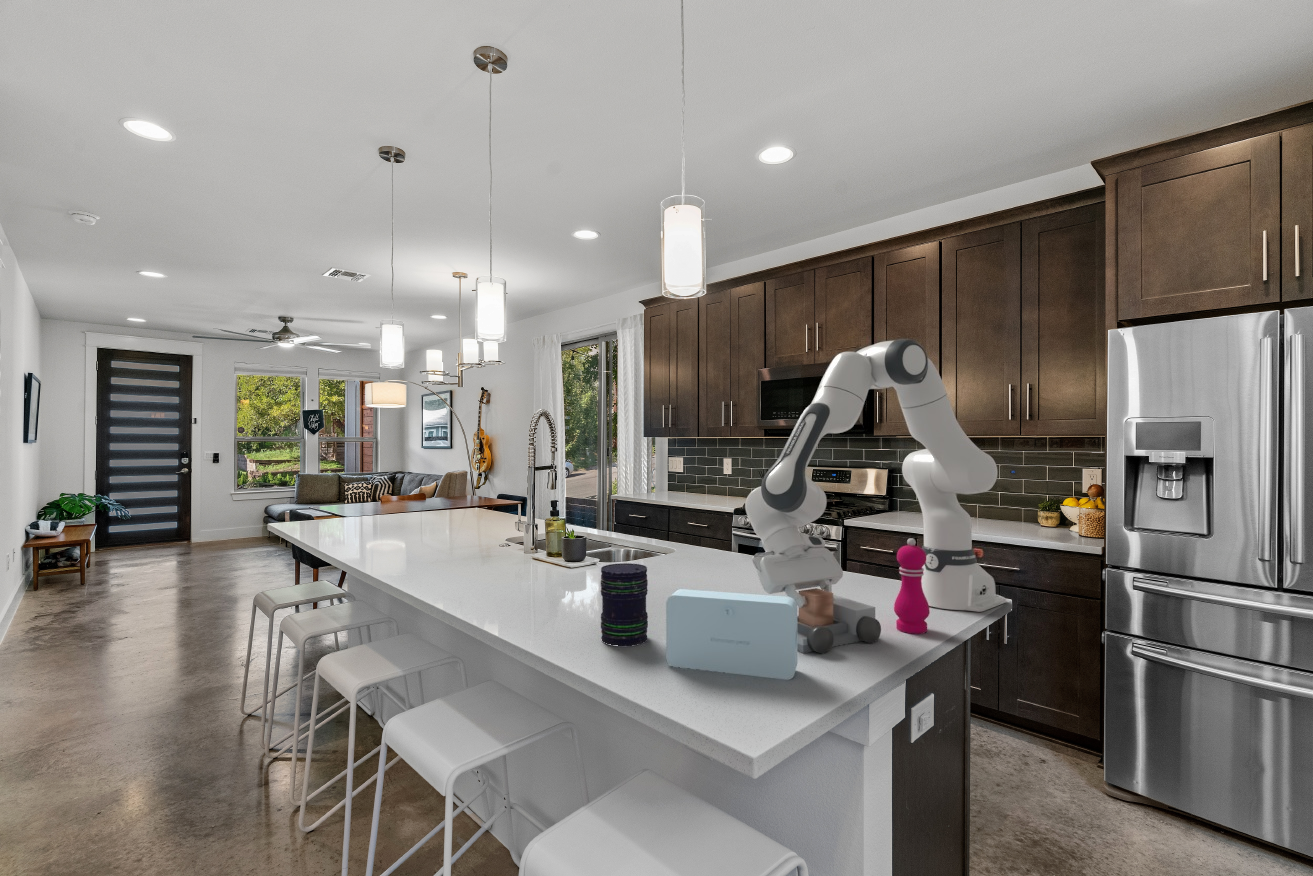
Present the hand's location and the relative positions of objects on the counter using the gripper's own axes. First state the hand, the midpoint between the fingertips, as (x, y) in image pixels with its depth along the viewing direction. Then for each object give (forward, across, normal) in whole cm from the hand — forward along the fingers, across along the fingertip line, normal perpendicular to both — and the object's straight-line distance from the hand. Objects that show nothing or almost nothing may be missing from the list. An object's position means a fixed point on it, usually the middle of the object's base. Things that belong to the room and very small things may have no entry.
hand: (817, 603), depth 133 cm
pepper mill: (+9, +22, +1) cm, 24 cm away
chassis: (+5, +1, +6) cm, 7 cm away
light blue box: (+9, -26, +1) cm, 28 cm away
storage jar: (-8, -36, +18) cm, 41 cm away
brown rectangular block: (+4, 0, +4) cm, 6 cm away
